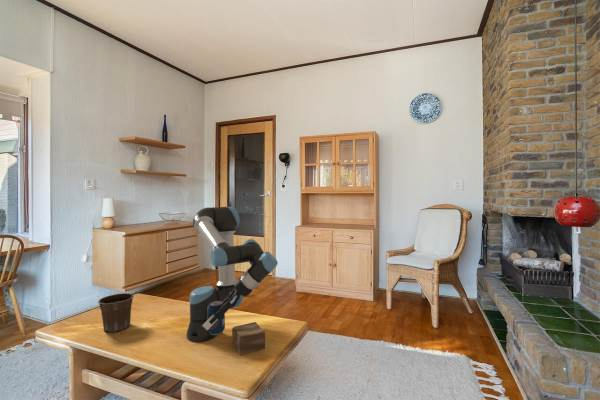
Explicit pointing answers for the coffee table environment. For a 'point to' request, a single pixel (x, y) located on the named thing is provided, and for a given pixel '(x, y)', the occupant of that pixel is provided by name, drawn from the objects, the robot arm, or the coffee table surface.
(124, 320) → the plant pot
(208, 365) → the coffee table surface
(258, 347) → the block
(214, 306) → the soda can
